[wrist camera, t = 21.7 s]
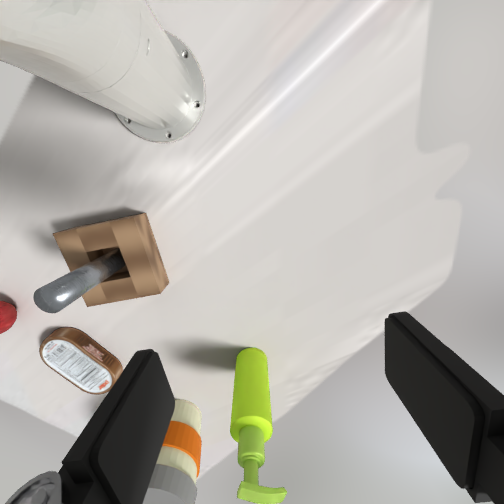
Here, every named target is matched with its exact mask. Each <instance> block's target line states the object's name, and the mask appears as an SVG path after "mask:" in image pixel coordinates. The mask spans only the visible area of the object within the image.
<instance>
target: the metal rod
mask: <svg viewBox="0 0 504 504" xmlns="http://www.w3.org/2000/svg"><path fill="white" fill-rule="evenodd" d="M124 266H126V263H125V261H124V258H123V256H122V253H121V251H120V248H117V249H114V250H113V251H111V252H109V253H107V254H105V255H103V256H101V257H99V258H97V259H95V260H93V261H91V262H89V263H87V264H85V265H84V266H82V267H80V268H78V269H76V270H74V271H72V272H70V273H68V274H66V275H64V276H62V277H60V278H58V279H57V280H55V281H53V282H51V283H49V284H47V285H45V286H43V287H41V288H39V289H37V290H36V291H35V293H34V302H35V304H36V305H37V306H38V307H39V308H40V309H41V310H43V311H45V312H48V313H57V312H59V311H60V310H62V309H63V308H65V307H66V306H68V305H69V304H70V303H72V302H73V301H75V300H76V299H78V298H79V297H81V296H82V295H84V294H85V293H86V292H88V291H89V290H91V289H92V288H94V287H95V286H97V285H98V284H100V283H101V282H102V281H104V280H105V279H107V278H108V277H110V276H111V275H113V274H114V273H115V272H117V271H118V270H120V269H121V268H123V267H124Z"/></svg>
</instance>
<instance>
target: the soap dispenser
mask: <svg viewBox="0 0 504 504" xmlns="http://www.w3.org/2000/svg"><path fill="white" fill-rule="evenodd" d="M272 432H273V429H272V417H271V404H270V391H269V379H268V366H267V357H266V355H265V354H264V352H262V351H261V350H259V349H257V348H247V349H244V350H242V351H241V352H240V353H239V354H238V355H237V358H236V369H235V380H234V392H233V403H232V414H231V426H230V433H231V436H232V438H233V439H234V440H235V441H237V442H238V463H239V465H240V466H241V467H243V468H244V482H243V481H241V484H240V486H239V488H238V491H237V498H239V499H243V500H246V501H249V502H253V503H258V504H277V503H281V502H282V501H283V500H284V498H285V495H286V493H287V491H286V490H285V489H284V487H283V488H282V487H281V488H269V487H263V486H259V485H258V468H260V467H261V466H262V465H263V464H264V462H265V455H264V443H265V442H266V441H268V440H269V439H270V437H271V435H272Z"/></svg>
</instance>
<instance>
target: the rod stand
mask: <svg viewBox="0 0 504 504" xmlns="http://www.w3.org/2000/svg"><path fill="white" fill-rule="evenodd" d="M53 236H54V238H55V240H56V242H57V244H58V246H59V248H60V250H61V252H62V255H63V257H64V259H65V261H66V263H67V265H68V267H69V269H70V271H71V272H72V271H74V270H76V269H78V268H80V267H82V266H84V265H85V264H87V263H89V262H91V261H93V260H95V259H97V258H99V257H101V256H103V255H105V254H107V253H109V252H111V251H113V250H114V249H117V248H120V251H121V253H122V256H123V258H124V261H125V263H126V266H124V267H123V268H121V269H120V270H118V271H117V272H115V273H114V274H113V275H111V276H110V277H108V278H107V279H105V280H104V281H102V282H101V283H100V284H98V285H97V286H95V287H94V288H92V289H91V290H89V291H88V292H86V293H85V294H84V295H82V297H83V299H84V301H85V303H86V305H87V307H89V306H95V305H101V304H106V303H112V302H117V301H123V300H128V299H134V298H139V297H145V296H150V295H156V294H161V292H162V291H163V290H164V289H165V287H166V286H167V285H168V283H169V280H168V277H167V274H166V271H165V268H164V265H163V262H162V259H161V256H160V253H159V250H158V247H157V244H156V241H155V238H154V235H153V232H152V229H151V226H150V223H149V220H148V217H147V215H146V213H143V214H138V215H133V216H128V217H123V218H118V219H113V220H109V221H104V222H99V223H94V224H89V225H84V226H79V227H74V228H70V229H67V230H63V231H60V232H56V233H53Z"/></svg>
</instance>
